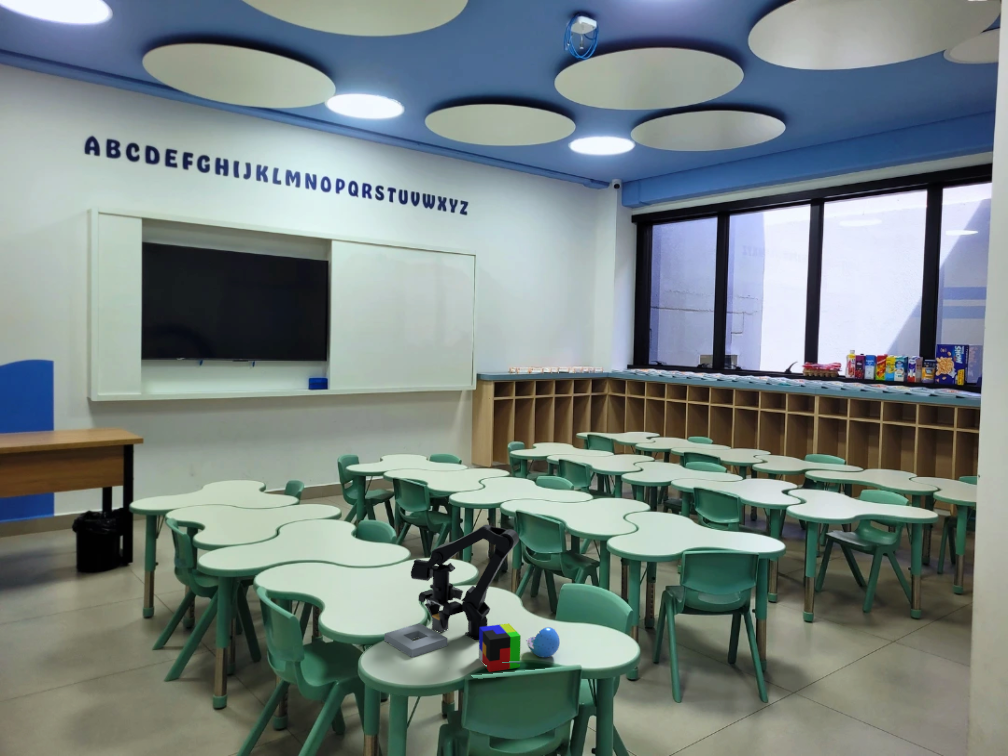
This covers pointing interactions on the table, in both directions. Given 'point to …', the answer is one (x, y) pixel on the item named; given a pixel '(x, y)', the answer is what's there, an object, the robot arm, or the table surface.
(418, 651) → the plate
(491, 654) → the puzzle toy
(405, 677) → the table surface
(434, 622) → the orange-topped grey block
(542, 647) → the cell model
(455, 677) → the table surface
